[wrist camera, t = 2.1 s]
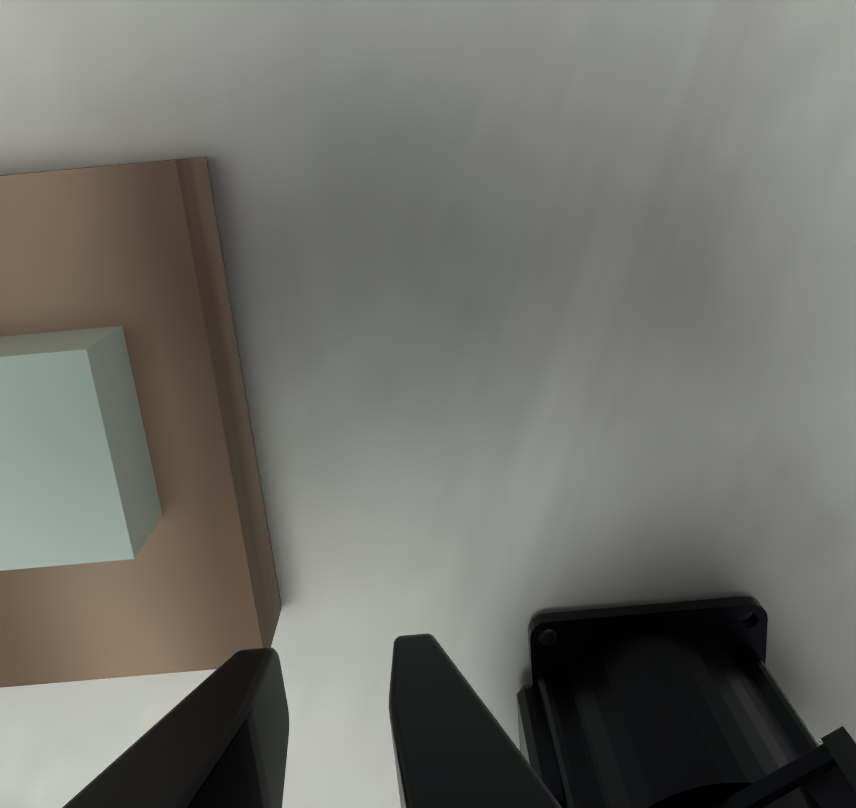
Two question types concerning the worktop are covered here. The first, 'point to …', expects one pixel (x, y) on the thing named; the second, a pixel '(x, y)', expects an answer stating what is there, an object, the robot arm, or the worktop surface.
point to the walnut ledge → (162, 418)
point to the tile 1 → (72, 451)
